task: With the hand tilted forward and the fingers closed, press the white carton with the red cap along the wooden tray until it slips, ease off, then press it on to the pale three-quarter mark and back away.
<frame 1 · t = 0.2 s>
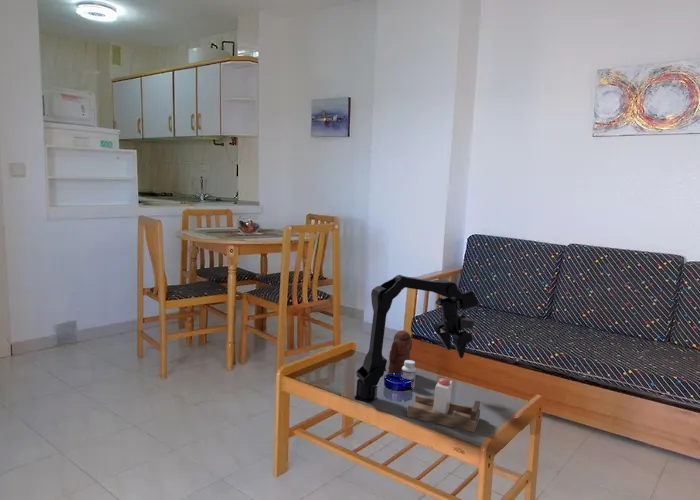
hand: (455, 353, 190), 16 cm above the table, tool pointing down, fingers open, 9 cm apart
wooden tray: (443, 417, 170), on the table
pill bottle: (407, 386, 196), on the table
white carton: (442, 396, 169), point 7 cm above the table, slide at 0.0 cm
wooden figurine: (397, 374, 208), on the table
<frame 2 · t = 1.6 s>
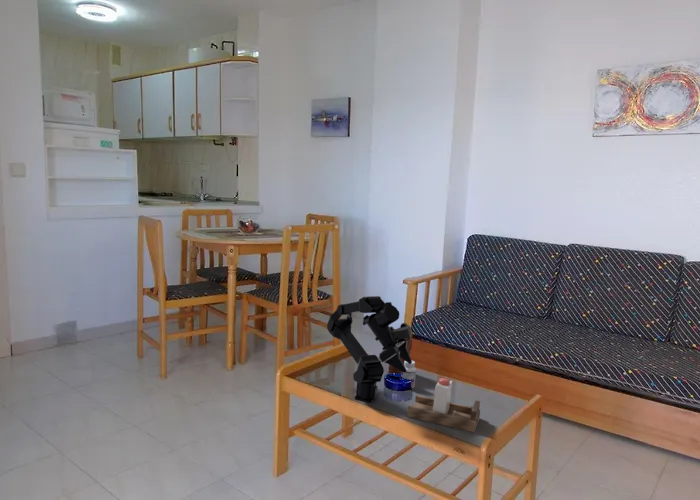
hand: (408, 367, 174), 14 cm above the table, tool tilted 40°, fingers open, 9 cm apart
nothing on the table moved.
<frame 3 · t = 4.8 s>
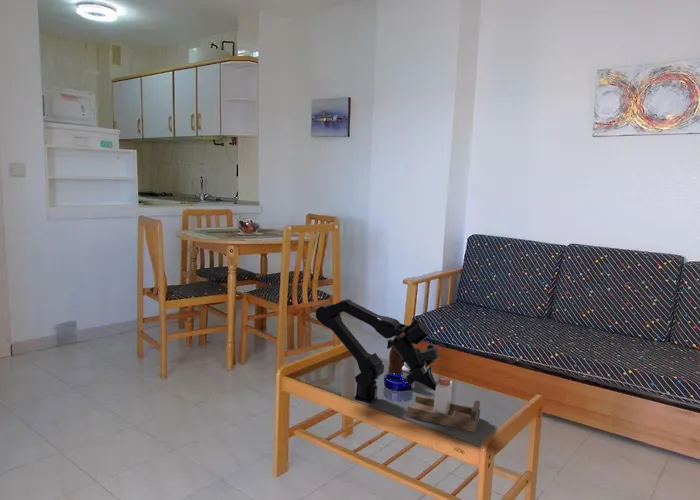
hand: (436, 389, 170), 9 cm above the table, tool tilted 45°, fingers closed, pressing on white carton
white carton: (443, 396, 169), point 7 cm above the table, slide at 0.1 cm, touching gripper
everything else where it was.
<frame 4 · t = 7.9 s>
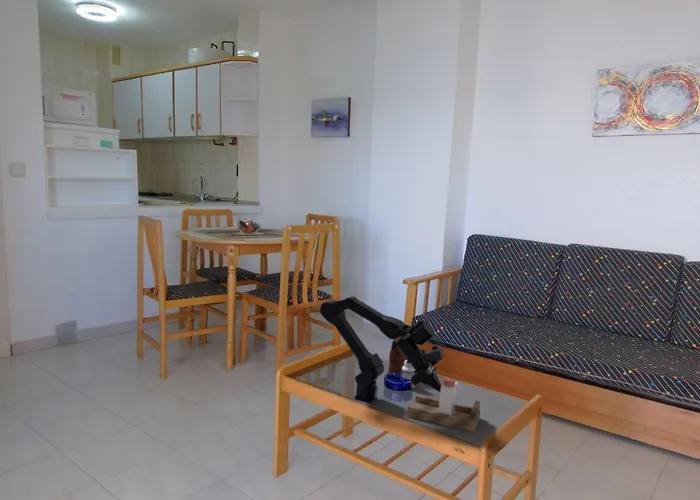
hand: (441, 390, 169), 9 cm above the table, tool tilted 45°, fingers closed, pressing on white carton
white carton: (448, 397, 169), point 7 cm above the table, slide at 1.8 cm, touching gripper
everything else where it was.
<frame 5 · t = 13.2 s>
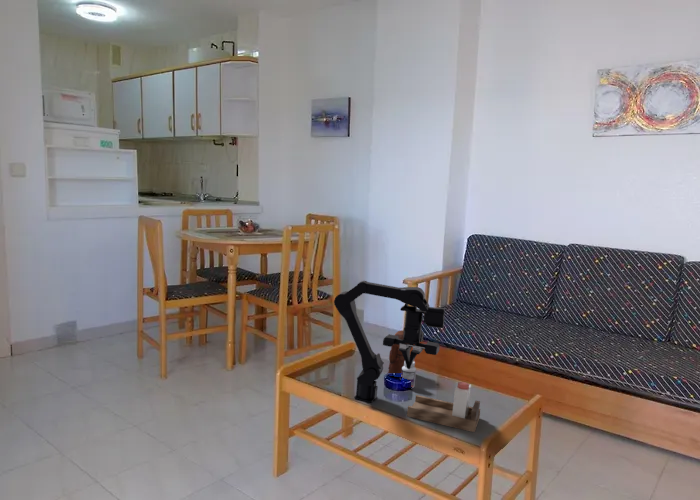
hand: (408, 368, 176), 13 cm above the table, tool pointing down, fingers closed
white carton: (461, 400, 167), point 7 cm above the table, slide at 6.3 cm
everything else where it was.
at the end: white carton slide at 6.3 cm; the gripper is holding nothing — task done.
